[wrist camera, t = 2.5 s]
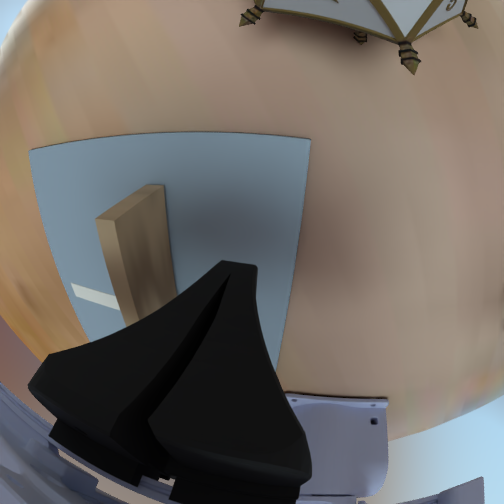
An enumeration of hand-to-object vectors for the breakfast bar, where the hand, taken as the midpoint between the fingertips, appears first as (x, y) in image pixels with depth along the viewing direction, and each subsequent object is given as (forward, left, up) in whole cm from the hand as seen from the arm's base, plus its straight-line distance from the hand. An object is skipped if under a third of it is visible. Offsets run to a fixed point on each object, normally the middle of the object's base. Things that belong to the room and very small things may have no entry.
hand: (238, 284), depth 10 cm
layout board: (+7, +6, -4) cm, 10 cm away
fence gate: (+5, +2, -3) cm, 6 cm away
